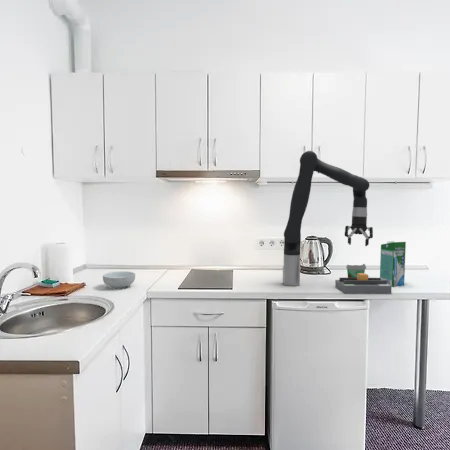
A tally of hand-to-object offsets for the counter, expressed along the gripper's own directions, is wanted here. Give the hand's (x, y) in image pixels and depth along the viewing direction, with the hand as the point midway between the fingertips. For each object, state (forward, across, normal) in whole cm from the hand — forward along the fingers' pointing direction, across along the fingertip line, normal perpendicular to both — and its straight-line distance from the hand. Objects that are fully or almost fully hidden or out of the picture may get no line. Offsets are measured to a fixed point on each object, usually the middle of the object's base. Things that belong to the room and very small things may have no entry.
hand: (357, 245), depth 181 cm
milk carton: (+23, +16, +19) cm, 34 cm away
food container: (+24, -2, +14) cm, 28 cm away
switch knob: (+19, +4, -6) cm, 20 cm away
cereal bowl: (+26, -108, -73) cm, 133 cm away
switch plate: (+23, +4, -6) cm, 24 cm away
